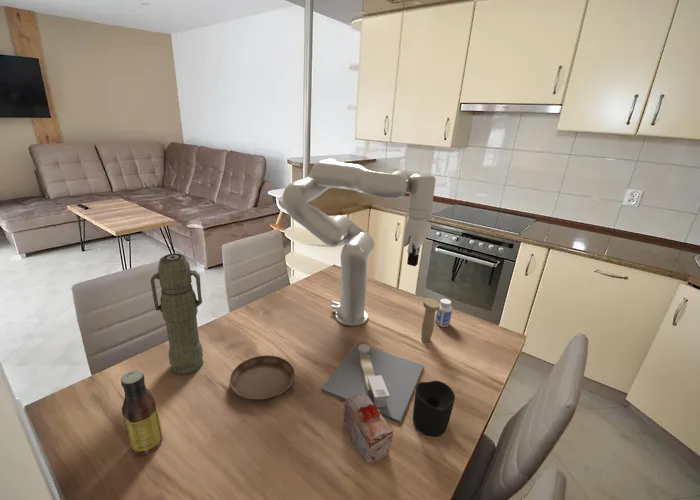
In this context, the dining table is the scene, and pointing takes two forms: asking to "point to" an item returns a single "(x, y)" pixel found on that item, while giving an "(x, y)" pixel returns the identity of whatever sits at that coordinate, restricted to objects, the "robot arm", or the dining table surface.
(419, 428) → the pen holder
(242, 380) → the plant saucer
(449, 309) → the pill bottle
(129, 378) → the sauce bottle
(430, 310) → the handle
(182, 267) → the thermos
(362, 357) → the link
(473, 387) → the dining table surface
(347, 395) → the board
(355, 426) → the food item
